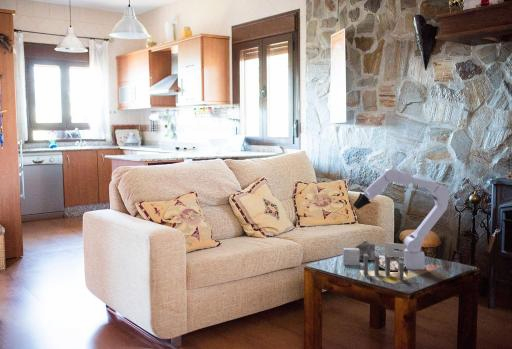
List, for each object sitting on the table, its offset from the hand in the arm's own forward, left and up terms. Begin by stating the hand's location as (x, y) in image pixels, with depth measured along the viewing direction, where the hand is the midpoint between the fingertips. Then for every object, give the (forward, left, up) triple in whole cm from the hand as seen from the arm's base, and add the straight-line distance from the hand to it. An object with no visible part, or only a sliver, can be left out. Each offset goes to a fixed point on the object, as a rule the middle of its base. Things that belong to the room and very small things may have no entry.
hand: (355, 207), depth 255 cm
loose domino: (-19, +18, -30) cm, 40 cm away
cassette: (-24, -24, -31) cm, 46 cm away
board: (-13, +10, -30) cm, 34 cm away
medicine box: (+1, -5, -31) cm, 31 cm away
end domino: (-4, +12, -29) cm, 32 cm away
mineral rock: (-6, -18, -31) cm, 36 cm away
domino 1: (-9, +12, -29) cm, 33 cm away
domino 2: (-14, +12, -29) cm, 35 cm away
